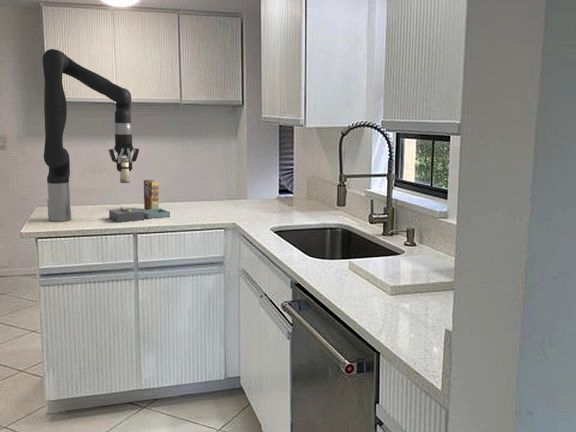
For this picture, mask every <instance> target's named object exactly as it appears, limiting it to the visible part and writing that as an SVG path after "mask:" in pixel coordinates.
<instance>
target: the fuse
mask: <svg viewBox="0 0 576 432" xmlns="http://www.w3.org/2000/svg"><path fill="white" fill-rule="evenodd" d="M120 163H121V172H119V183H120V184H130V171H129V158H127V157H122V158H121V162H120Z"/></svg>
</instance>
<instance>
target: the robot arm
mask: <svg viewBox="0 0 576 432" xmlns="http://www.w3.org/2000/svg"><path fill="white" fill-rule="evenodd" d="M42 69H43V77H44V78H43V79H44V91H43V92H44V96H43V98H44V101H43V102H44V104H43V107H44V108H43V110H44V111H43V114H44V115H43V116H44V133H45V134H44V135H45V136H44V137H45V140H44V147H43V148H44V149H43V161H44V163H45V165H46V166H48V174H47V177H46V180H47V181H46V182H47V183H46V184H47V199H46V202H47V216H48V217H47V219H48V220H49V221H50V222H67V221H70V220H72V209H71V191H70V177H71V176H70V174H71V169H70V167H71V163H70V154H69V151H68V150H67V149H66V148H65V147H64V139H63V137H64V132H65V127H66V123H67V114H68V113H67V111H68V110H67V109H68V108H67V97H66V94H65V90H64V85H63V75H64V74H65V75H67V76H69V77H72V78H73V79H76V80H77V81H79V82H80V83H82V84H83V85H84V86H86V87H87V88H89V89H91V90H93V91H95V92H97V93H99V94H100V95H104V96H105V97H107V98H108V99H110V100H111V101H112V102H114V103H115V112H114V147H113V148H109V149H108V153H109V156H110V158H111V161H112V163H113V162H114V163H116V170H117V172H119V173H120V172H121V163H120V162H121V158H123V157H125V158H129V172H131V171H132V170H133V162H136V161H137V158H138V155H139V152H140V149H139V148H136V147H134V146H133V130H132V129H133V128H132V127H133V126H132V113H131V110H132V109H131V108H132V94H131V91H130V90H128V89H127V88H123V87H121V86H119V85H117V84H115V83H113V82H112V81H111V80H110V79H107V77H104V76H102V75H100V74H98V73H96V72H94V71H92V70H90V69H88V68H86V67H84V66H82V65H80V64H79V63H77V62H76V61H74V60H73V59H71V58H70V57H69V56H68V55H66V54H65V53H64V52H63V51H61V50H58V49H56V48H50V49H49V48H48V49H47V50H46V51H44V53H43V56H42ZM115 152H116V153H117V154H116V155H115ZM131 153H133V154H131Z"/></svg>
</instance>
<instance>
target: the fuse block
mask: <svg viewBox="0 0 576 432" xmlns="http://www.w3.org/2000/svg"><path fill="white" fill-rule="evenodd" d="M141 210H142V209H137V208H135V207H129V208H125V206H120V208H118V209H117V208H116V209H109V210H108V214H109V215H108V218H110V220H111V221H114V222H116V223H117V224H118V223H119V224H120V223H127V222H128V223H130V222H129V221H131V222H138V221H139V220H141V221H144V220H145V218H144V215H143V211H141ZM139 222H140V221H139Z"/></svg>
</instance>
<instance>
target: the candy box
mask: <svg viewBox="0 0 576 432" xmlns="http://www.w3.org/2000/svg"><path fill="white" fill-rule="evenodd" d="M159 185H160V182H159V181H158V180H155V179H154V180H153V179H143V207H144V209H143V210H149V209H160V202H159V201H160V199H159V198H160V193H159V192H160V191H159V188H160V187H159Z"/></svg>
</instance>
